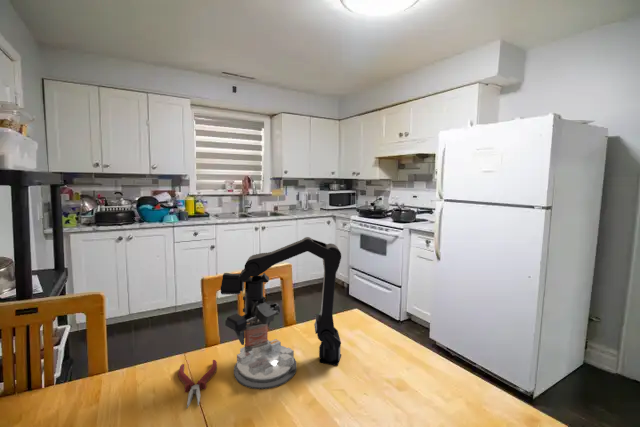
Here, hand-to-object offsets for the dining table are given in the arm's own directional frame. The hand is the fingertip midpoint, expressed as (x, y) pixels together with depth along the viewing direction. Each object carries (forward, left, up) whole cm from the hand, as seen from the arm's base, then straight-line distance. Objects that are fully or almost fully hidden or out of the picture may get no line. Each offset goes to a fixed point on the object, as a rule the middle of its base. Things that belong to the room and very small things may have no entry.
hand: (253, 338), depth 106 cm
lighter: (-1, -1, -3) cm, 3 cm away
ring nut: (-6, +3, -6) cm, 9 cm away
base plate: (-6, +3, -8) cm, 10 cm away
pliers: (+13, +16, -9) cm, 22 cm away
